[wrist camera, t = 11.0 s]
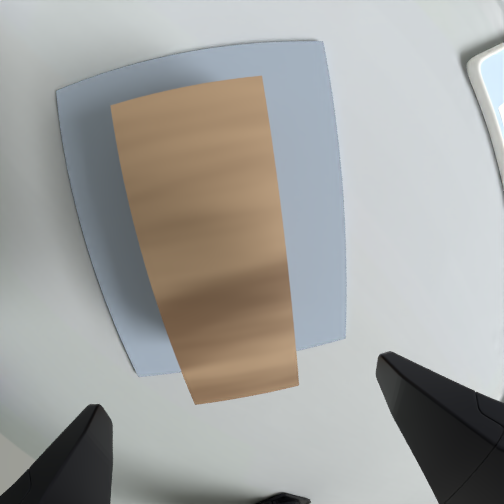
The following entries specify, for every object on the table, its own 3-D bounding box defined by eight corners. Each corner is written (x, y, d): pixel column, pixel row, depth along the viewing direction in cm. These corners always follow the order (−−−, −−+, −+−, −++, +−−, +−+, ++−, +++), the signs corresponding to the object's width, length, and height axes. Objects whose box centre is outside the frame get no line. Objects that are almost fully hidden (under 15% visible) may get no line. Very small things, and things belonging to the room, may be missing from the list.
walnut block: (299, 385, 13) (261, 75, 9) (195, 404, 13) (110, 105, 8) (277, 328, 18) (244, 97, 13) (195, 343, 18) (141, 116, 13)
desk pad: (343, 336, 19) (345, 338, 19) (139, 373, 18) (138, 376, 18) (321, 42, 13) (322, 41, 13) (58, 91, 12) (56, 90, 12)
